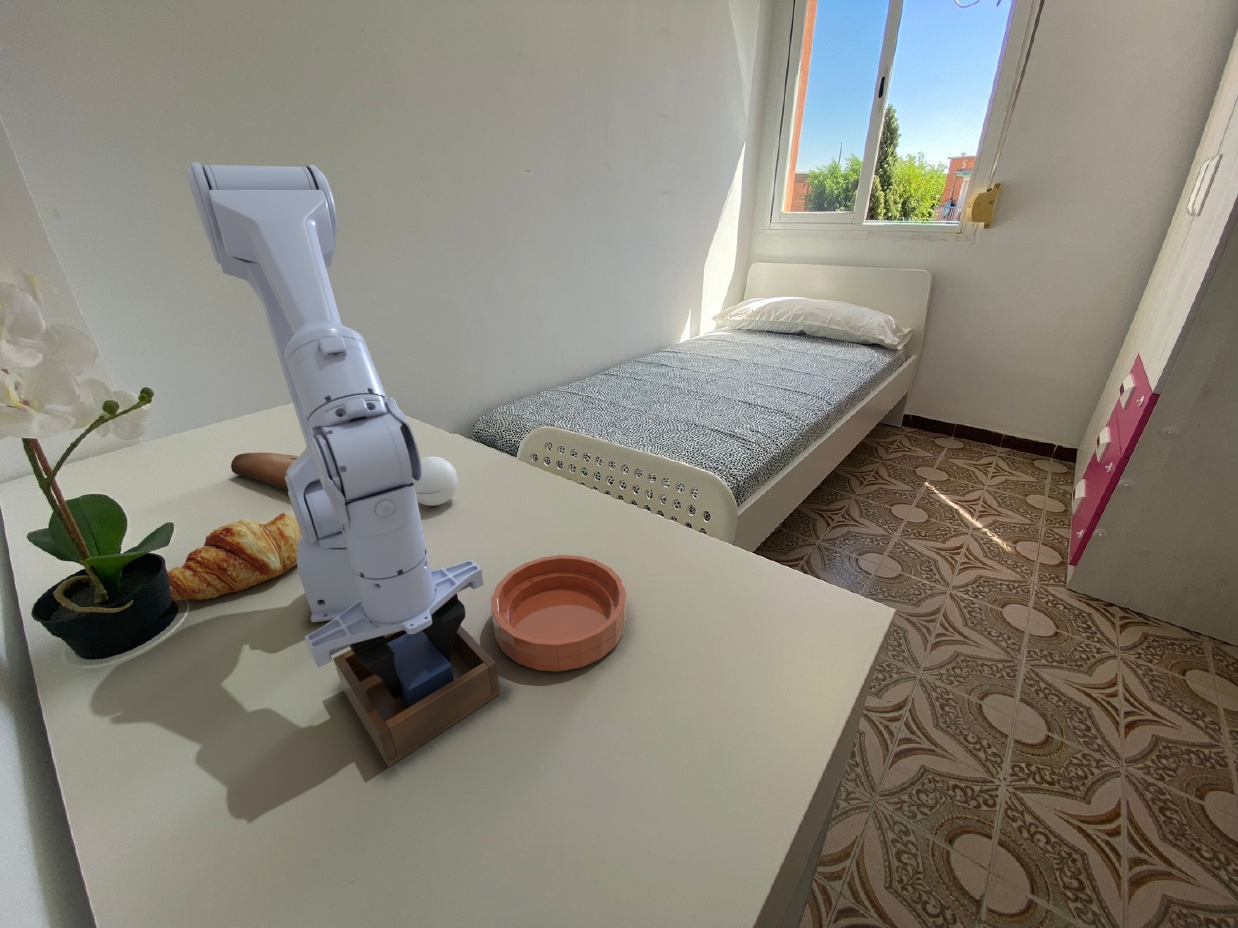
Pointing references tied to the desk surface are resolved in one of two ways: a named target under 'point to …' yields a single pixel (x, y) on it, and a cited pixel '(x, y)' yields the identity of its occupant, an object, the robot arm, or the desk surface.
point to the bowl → (559, 612)
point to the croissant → (237, 558)
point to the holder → (428, 717)
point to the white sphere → (435, 481)
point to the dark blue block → (419, 667)
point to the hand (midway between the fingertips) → (418, 677)
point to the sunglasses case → (264, 467)
